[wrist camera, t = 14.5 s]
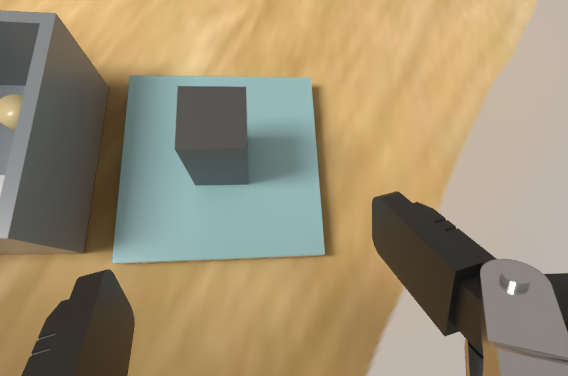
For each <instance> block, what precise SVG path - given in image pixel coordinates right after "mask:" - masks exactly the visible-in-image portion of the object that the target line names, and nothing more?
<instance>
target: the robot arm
mask: <svg viewBox="0 0 568 376" xmlns="http://www.w3.org/2000/svg"><path fill="white" fill-rule="evenodd" d="M372 238H373V243H374V246H375V248H376V250H377V252H378V254H379V255H380V256H381V258H382V259H383V260H384V261H385V263H386V264H387V265H388V266H389V268H390V269H391V270H392V271H393V273H394V274H395V275H396V276H397V278H398V279H399V280H400V281H401V283H402V284H403V285H404V286H405V288H406V289H407V290H408V291H409V292H410V294H411V295H412V296H413V297H414V299H415V300H416V301H417V302H418V304H419V305H420V306H421V307H422V309H423V310H424V311H425V312H426V313H427V315H428V316H429V317H430V319H431V320H432V321H433V322H434V324H435V325H436V326H437V327H438V329H440V331H441V332H442V334H443V335H444V336H447V335H450V334H453V333H456V332H459V331H460V332H461V333H462V334H463V336H464V337H465V338H466V340H465V360H466V376H568V273H566V274H565V273H564V274H543V273H541V272H540V271H539V270H537V269H536V268H534V267H532V266H530V265H528V264H525V263H523V262H519V261H516V260H510V259H496V258H495V257H493V256H492V255H491V254H490V253H488V252H487V251H486V250H485V249H483V248H482V247H480V246H479V245H478V244H477V243H476V242H475V241H473V240H472V239H471V238H469V237H468V236H467V235H466V234H464V233H463V232H462V231H461V230H459V229H456V227H455V226H454V225H453V224H452V223H451V222H449V221H448V220H447V221H446V219H445V218H444V217H443V216H442V215H440V214H439V213H438V212H437V211H436V210H434V209H433V208H430V207H428V206H425V205H423V204H420V203H418V202H415V203H412V202H410V201H409V200H408V199H407V198H406V197H405V196H403V195H402V194H401V193H400V192H392V193H389V194H385V195H381V196H378V197H375V198H374V199H373V201H372ZM133 333H134V315H133V311H132V308H131V305H130V303H129V302H128V300H127V298H126V296H125V294H124V292H123V290H122V288H121V287H120V285H119V283H118V281H117V279H116V277H115V275H114V274H113V272H112V271H111V270H109V269H107V270H104V271H100V272H96V273H93V274H89V275H85V276H82V277H79V278H78V279H77V281H76V283H75V286H74V288H73V291H72V293H71V296H70V299H68V300H64V301H61V302H60V303H59V305H58V306H57V307H56V308H55V309H54V311H53V312H52V313H51V314H50V315H49V316H48V318H47V319H46V321H45V323H44V325H43V328H42V330H41V332H40V335H39V337H38V338H39V341H36V344H35V346H34V348H33V351H32V356H31V357H29V360H28V362H27V364H26V367H25V369H24V371H23V374H22V376H127V374H128V367H129V360H130V354H131V347H132V340H133Z"/></svg>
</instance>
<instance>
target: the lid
mask: <svg viewBox="0 0 568 376" xmlns="http://www.w3.org/2000/svg"><path fill="white" fill-rule="evenodd" d="M323 255H325V248H324V236H323V223H322V210H321V198H320V185H319V173H318V160H317V147H316V135H315V122H314V109H313V97H312V84H311V78H285V77H207V76H130V79H129V89H128V100H127V110H126V121H125V132H124V142H123V153H122V163H121V174H120V184H119V195H118V205H117V216H116V227H115V237H114V248H113V258H112V263H115V264H130V263H155V262H180V261H205V260H230V259H255V258H280V257H305V256H323Z"/></svg>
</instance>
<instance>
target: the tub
mask: <svg viewBox="0 0 568 376" xmlns="http://www.w3.org/2000/svg"><path fill="white" fill-rule="evenodd" d="M108 88H109V87H108V85H107V84H106V82H105V81H104V80H103V78H102V77H101V75H100V74H99V73H98V71H97V70H96V68H95V67H94V66H93V64H92V63H91V61H90V60H89V59H88V57H87V56H86V54H85V53H84V52H83V50H82V49H81V48H80V46H79V45H78V43H77V42H76V41H75V39H74V38H73V36H72V35H71V34H70V32H69V31H68V29H67V28H66V27H65V25H64V24H63V22H62V21H61V20H60V18H59V17H58V15H57V14H56V13H39V12H20V11H1V10H0V254H84V249H85V242H86V235H87V228H88V222H89V215H90V208H91V202H92V195H93V188H94V182H95V175H96V168H97V161H98V155H99V148H100V141H101V135H102V128H103V121H104V114H105V108H106V101H107V94H108Z"/></svg>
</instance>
